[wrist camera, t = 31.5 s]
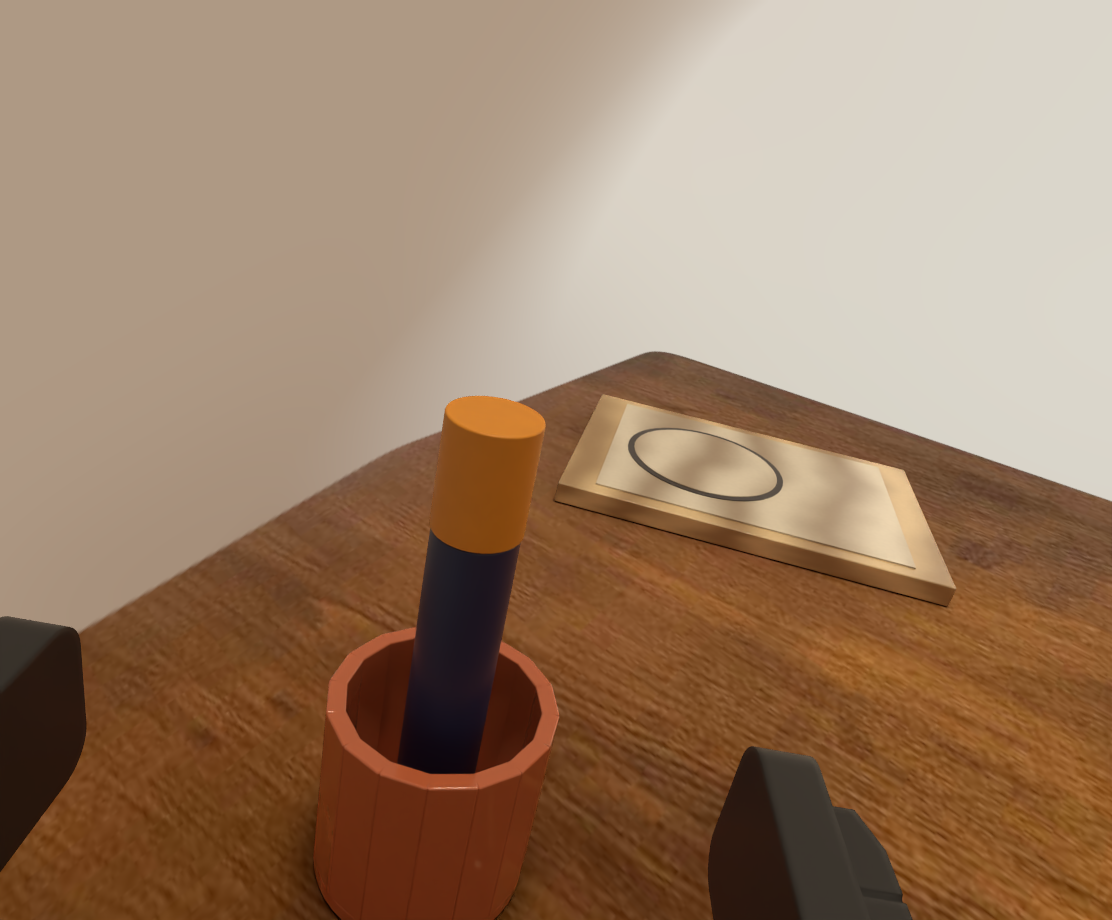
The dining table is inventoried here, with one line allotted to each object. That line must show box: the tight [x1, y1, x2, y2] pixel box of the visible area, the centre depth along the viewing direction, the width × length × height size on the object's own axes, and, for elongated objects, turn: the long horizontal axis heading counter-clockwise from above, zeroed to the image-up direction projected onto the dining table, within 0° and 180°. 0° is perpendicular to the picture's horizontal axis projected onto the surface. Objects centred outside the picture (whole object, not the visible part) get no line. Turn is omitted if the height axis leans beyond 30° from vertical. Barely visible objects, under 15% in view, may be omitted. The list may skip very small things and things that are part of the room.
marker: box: [397, 396, 546, 774], centre depth 22 cm, size 2×2×14 cm
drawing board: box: [555, 394, 956, 606], centre depth 52 cm, size 22×16×1 cm
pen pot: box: [313, 627, 559, 920], centre depth 24 cm, size 6×6×6 cm
